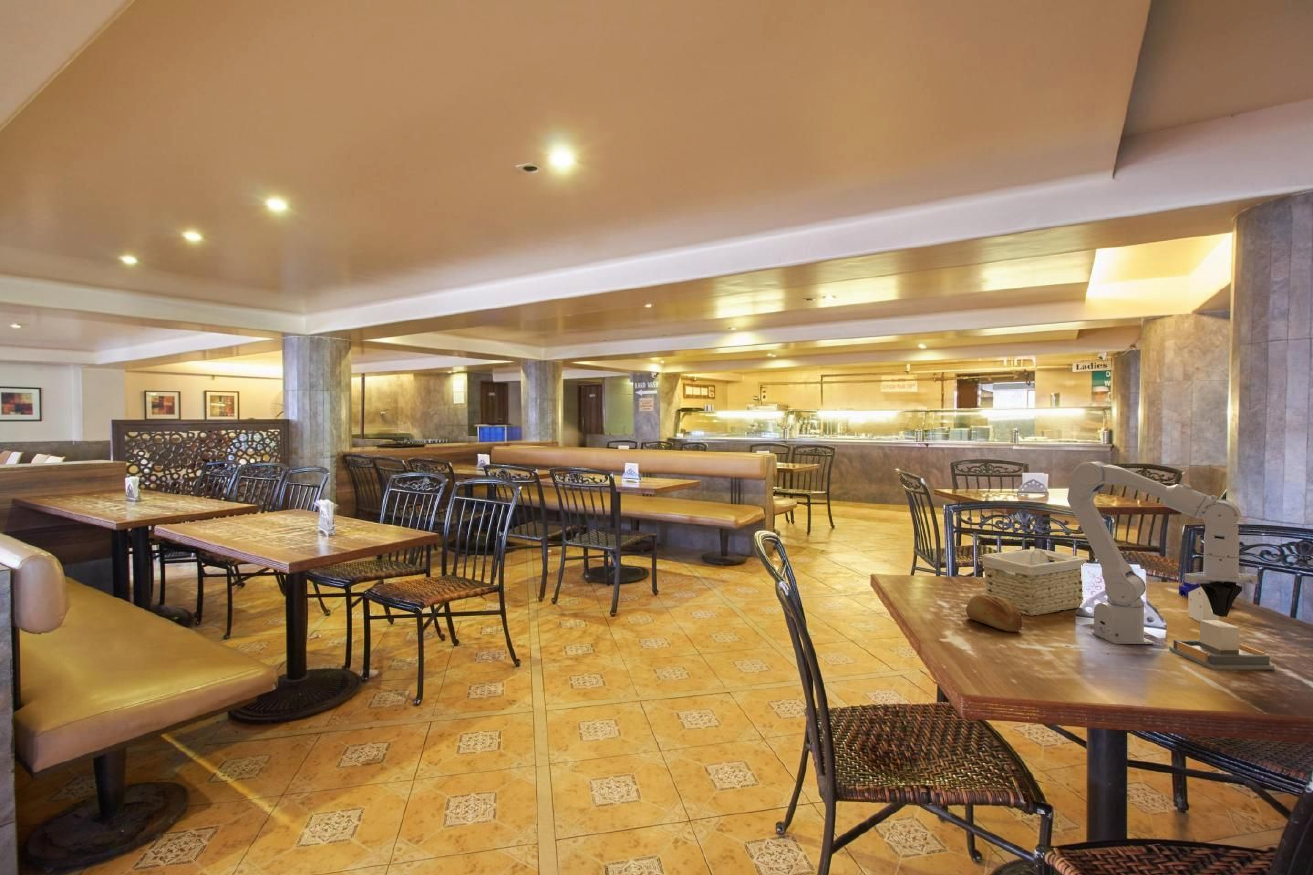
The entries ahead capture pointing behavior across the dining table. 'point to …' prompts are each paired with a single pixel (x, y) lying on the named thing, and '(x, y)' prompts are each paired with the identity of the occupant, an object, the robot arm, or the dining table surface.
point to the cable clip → (1187, 588)
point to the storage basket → (1035, 580)
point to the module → (1219, 637)
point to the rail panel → (1222, 657)
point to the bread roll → (994, 612)
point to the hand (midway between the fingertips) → (1220, 615)
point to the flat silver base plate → (1241, 652)
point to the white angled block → (1200, 606)
